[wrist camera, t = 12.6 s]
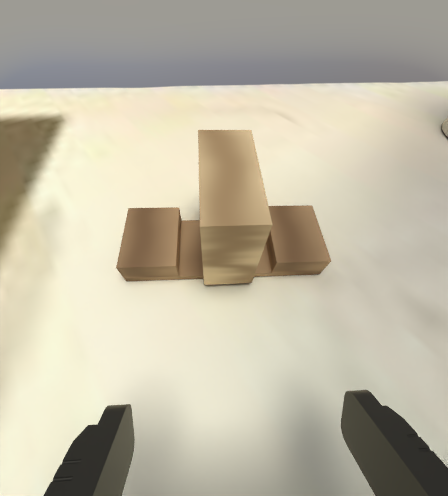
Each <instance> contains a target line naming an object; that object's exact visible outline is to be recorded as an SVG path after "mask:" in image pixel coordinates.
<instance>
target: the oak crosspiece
mask: <svg viewBox="0 0 448 496" xmlns="http://www.w3.org/2000/svg"><path fill="white" fill-rule="evenodd" d="M198 143H199V200H200V234H201V248H202V262H203V276H204V285H214V284H235V283H252V280H253V277H254V275H255V272H256V269H257V266H258V263H259V261H260V258H261V255H262V252H263V250H264V247H265V244H266V241H267V238H268V236H269V233H270V230H271V227H272V220H271V216H270V212H269V207H268V203H267V198H266V194H265V189H264V185H263V180H262V176H261V171H260V167H259V162H258V158H257V153H256V149H255V145H254V140H253V136H252V131H251V130H198Z"/></svg>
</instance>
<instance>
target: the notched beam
mask: <svg viewBox="0 0 448 496" xmlns="http://www.w3.org/2000/svg"><path fill="white" fill-rule="evenodd" d="M268 207H269V212H270V216H271V220H272V227H271V230H270V233H269V236H268V238H267V241H266V244H265V247H264V250H263V252H262V255H261V258H260V261H259V263H258V266H257V269H256V272H255V275H254V277H258V276H286V275H313V274H320V273H321V272H322V271H323V269H324V268H325V267H326V266H327V265H328V264H329V263H330V262H331V259H330V256H329V253H328V250H327V247H326V244H325V242H324V239H323V236H322V233H321V230H320V227H319V224H318V221H317V218H316V215H315V213H314V210H313V207H312V206H268ZM116 268H117V269H118V271H119V272H120V273H121V275H122V276H123V277H124V279H125V280H126V281H147V280H175V279H203V278H204V276H203V262H202V248H201V234H200V220H190V221H181V215H180V210H179V208H129V209H128V214H127V218H126V223H125V228H124V233H123V238H122V243H121V247H120V252H119V257H118V262H117V267H116Z"/></svg>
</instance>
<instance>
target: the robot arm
mask: <svg viewBox="0 0 448 496" xmlns="http://www.w3.org/2000/svg"><path fill="white" fill-rule="evenodd" d="M442 130H443V132H444V133H445V135H446V136H447V137H448V118H447V119H446V120H445V121H444V123H443V124H442ZM341 430H342V434H343V437H344V440H345V442H346V444H347V446H348V448H349V450H350V451H351V453H352V455H353V457H354V458H355V460H356V462H357V464H358V465H359V467H360V469H361V471H362V472H363V474H364V476H365V478H366V480H367V481H368V483H369V485H370V487H371V488H372V490H373V492H374V494H375V495H376V496H448V468H447V467H446V465H445V464H444V463H443V462H442V461H441V460H440V459H439V458H438V457H437V455H436V454H435V453H434V452H433V451H431V450H430V448H429V446H428V445H427V444H426V443H425V442H424V441H423V440H422V439H421V437H418V435H417V433H416V432H415V431H414V430H413V428H412V427H411V426H410V425H409V424H408V423H407V422H406V421H405V419H404V418H402V417H401V416H400V415H398V414H397V413H396V412H394V411H393V410H392V409H390V408H389V407H388V406H382V405H381V404H380V403H379V402H378V400H377V399H376V398H375V397H374V396H373V395H372V393H371V392H369V391H368V390H359V391H347V392H346V393H345V396H344V403H343V411H342V418H341ZM133 451H134V429H133V419H132V409H131V405H130V404H126V405H111V406H107V407H106V409H105V410H104V412H103V414H102V417H101V419H100V421H99V423H98V425H88V426H87V427H86V428H85V429H84V430H83V431H82V432H81V434H80V435H79V436H78V437H77V438H76V439H75V440H74V441H73V443H72V444H71V446H70V448H69V450H68V452H67V454H66V455H65V457H64V459H63V462H62V465H60V467H59V468H58V470H57V472H56V474H55V476H54V478H53V481H52V482H51V483H50V485H49V487H48V489H47V490H46V492H45V494H44V496H122V493H123V489H124V485H125V482H126V478H127V475H128V471H129V468H130V464H131V461H132V456H133Z"/></svg>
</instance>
